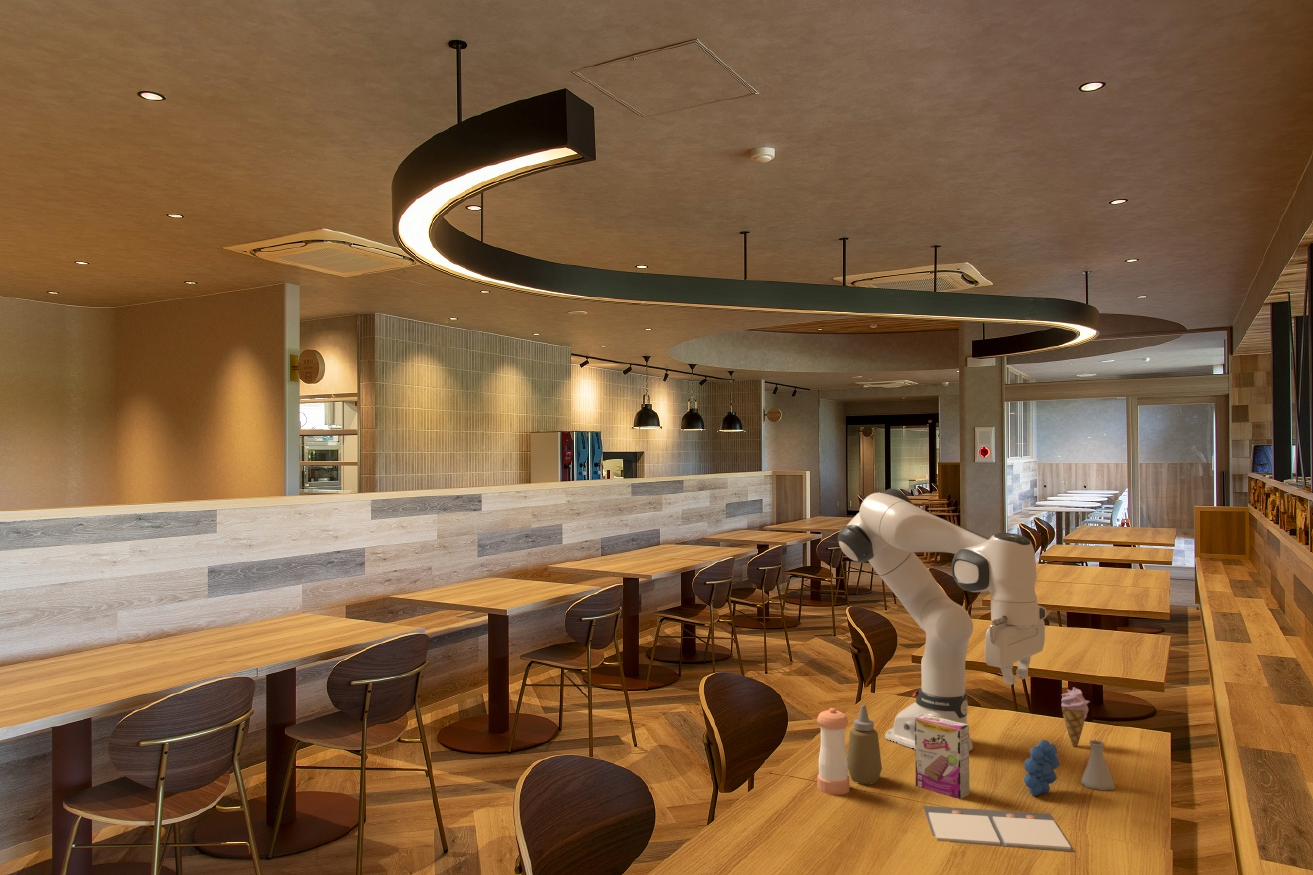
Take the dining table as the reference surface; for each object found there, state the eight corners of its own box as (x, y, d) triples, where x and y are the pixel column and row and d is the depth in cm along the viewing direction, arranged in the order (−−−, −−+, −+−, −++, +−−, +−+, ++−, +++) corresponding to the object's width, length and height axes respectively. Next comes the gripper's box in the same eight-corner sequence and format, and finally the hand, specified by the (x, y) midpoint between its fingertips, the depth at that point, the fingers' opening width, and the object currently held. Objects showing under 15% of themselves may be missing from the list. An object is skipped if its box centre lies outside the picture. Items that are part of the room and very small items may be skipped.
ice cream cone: (1091, 744, 224) (1090, 687, 224) (1089, 751, 219) (1088, 693, 219) (1063, 739, 227) (1062, 684, 228) (1060, 746, 222) (1059, 689, 222)
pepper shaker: (852, 788, 196) (851, 705, 197) (845, 800, 190) (844, 714, 190) (821, 783, 199) (820, 702, 200) (814, 795, 193) (812, 710, 193)
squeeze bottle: (883, 777, 203) (882, 702, 203) (880, 790, 195) (879, 712, 195) (849, 773, 205) (848, 699, 206) (845, 786, 198) (844, 709, 198)
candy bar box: (914, 788, 196) (913, 717, 196) (925, 782, 200) (923, 712, 200) (960, 802, 188) (959, 728, 188) (970, 795, 192) (969, 723, 192)
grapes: (1040, 782, 199) (1039, 731, 199) (1067, 791, 193) (1066, 739, 194) (1009, 793, 193) (1008, 740, 193) (1036, 803, 187) (1036, 749, 187)
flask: (1119, 792, 193) (1118, 748, 193) (1085, 790, 194) (1084, 746, 194) (1109, 780, 200) (1108, 737, 200) (1076, 778, 201) (1075, 736, 201)
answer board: (934, 845, 168) (934, 838, 168) (923, 809, 185) (923, 803, 185) (1074, 855, 163) (1074, 848, 163) (1050, 817, 180) (1050, 811, 180)
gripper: (1006, 622, 163) (1008, 694, 163) (1049, 608, 177) (1051, 674, 177) (975, 618, 168) (977, 688, 168) (1020, 604, 182) (1021, 669, 182)
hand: (1015, 681), depth 173 cm, fingers open, 4 cm apart
